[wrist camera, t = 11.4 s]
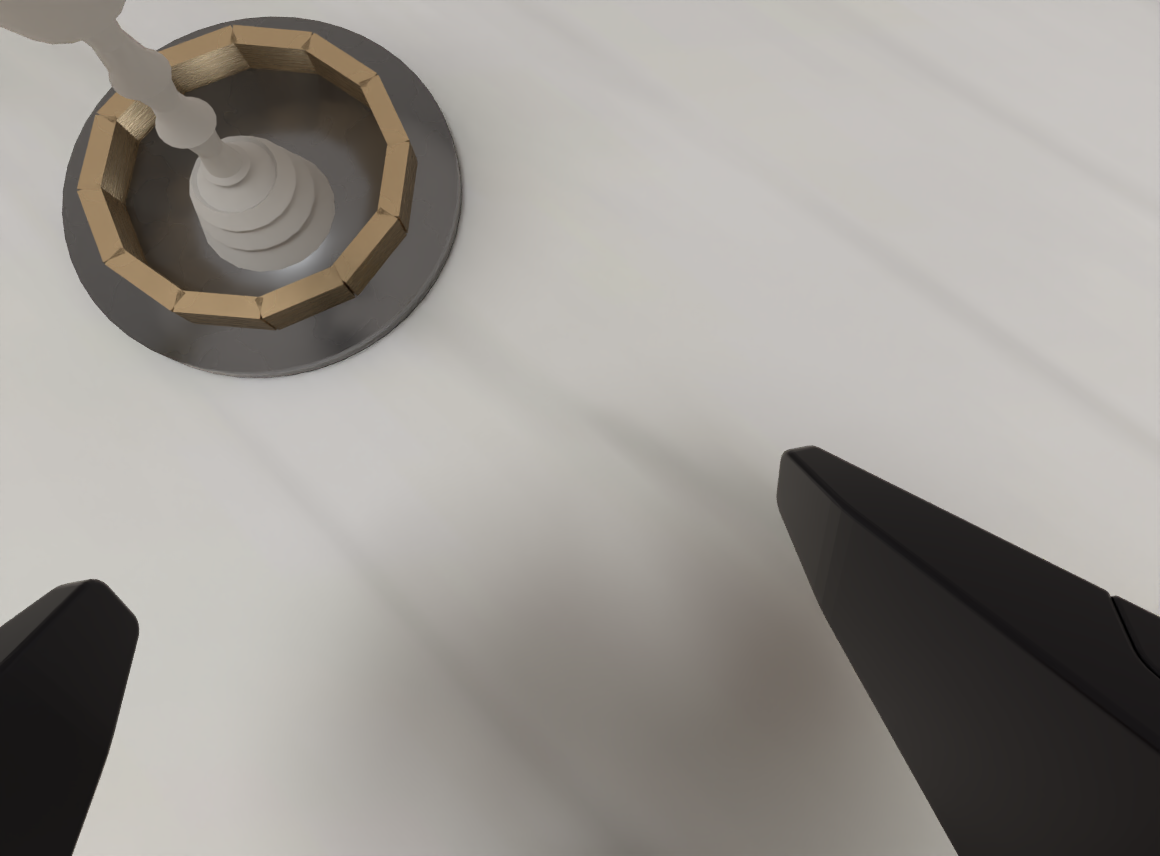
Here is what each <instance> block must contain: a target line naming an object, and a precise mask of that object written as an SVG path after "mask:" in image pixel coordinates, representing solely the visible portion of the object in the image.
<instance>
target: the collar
mask: <svg viewBox="0 0 1160 856" xmlns="http://www.w3.org/2000/svg"><path fill="white" fill-rule="evenodd" d="M157 52H159V53H161V54H162V55H163V56H164V57H165V58H166V59H167V60H168V61H169V64H170V66H171V73H172V81H173V83H174V85H175V87H176V89H177V91H178V92H179V93H181V94H183V95H184V96H186V97H195V98H199V99H201V100H203V101H205V102H207V103H208V104H209V105H210V106H211V107H212V108H213V110H214V112H215V115H216V127H215V130H216V132H217V134H218V136H219V138H220V140H221V139H223V138H226V137H232V136H254V137H259V138H264V139H267V140H269V141H271V142H272V143H274V144H276V145H278V146H281V147H283V148H284V149H286V150H288V151H290V152H292V153H294V154H297V155H299V156H301V157H303V158H304V159H306V160H308V161H310V162H312V163H314V164H315V165H316V167H317V168H318V169H319V170H320V171H321V172H322V173H323V174H324V175H325V176H326V177H327V180H328V182H329V184H330V187H331V189H332V191H333V194H334V205H335V215H334V218H333V222H332V225H331V228H330V232H329V233H328V235H327V236H326V238H325V239H324V240H323V242H322V243H321V245H320V246H319V248H318V249H317V250H316V251H314V252H313V253H312V254H310V255H309V256H308V257H307V258H305V259H304V260H303V261H301V262H299V263H297V264H294V265H292V266H289V267H287V268H284V269H281V270H273V271H262V272H258V271H253V270H248V269H243V268H238V267H237V266H235V265H233V264H231V263H229V262H228V261H226V260H224V259H222V258H221V257H220V256H219V255H218V254H217V253H216V252H215V250H214V249H213V248H212V247H211V246H210V245H209V244H208V242H207V239H206V237H205V234H204V231H203V229H202V226H201V223H200V221H199V218H198V215H197V213H196V210H195V208H194V205H193V203H192V200H191V197H190V177H191V173H192V170H193V168H194V165H195V162H196V160H197V158H198V157H199V156H198V154H196V153H194V152H193V151H191V150H190V149H188V148H184V149H181V148H176V147H172V146H170V145H168V144H166V143H165V142H164V141H163V140H162V139H161V138H160V137H159V136H158V133H157V131H156V125H155V120H156V115H155V114H154V112H153V110H152V108H151V107H149V106H147V105H146V104H144V103H142V102H141V101H138V100H133V99H128V98H125V97H123V96H121V95H119V94H118V93H117V92H116V91H115V90H114V89H113V88H111V89H110V90H109V91H108V92H107V94H106V95H105V96H104V97H103V98H102V99H101V101H100V102H99V103H98V105H97V106H96V108H95V109H94V111H93V112H92V114H91V115H90V117H89V118H88V120H87V121H86V123H85V125H84V127H83V129H82V131H81V133H80V135H79V137H78V139H77V141H76V143H75V145H74V149H73V152H72V155H71V158H70V161H69V164H68V167H67V172H66V177H65V183H64V188H63V208H62V216H63V225H64V233H65V240H66V243H67V247H68V250H69V254H70V258H71V261H72V263H73V265H74V268H75V270H76V272H77V274H78V277H79V279H80V281H81V283H82V284H83V286H84V288H85V289H86V291H87V292H88V294H89V295H90V297H91V298H92V300H93V301H94V303H95V304H96V305H97V306H98V307H99V308H100V310H101V311H102V312H103V313H104V314H105V315H106V316H107V317H108V319H109V320H110V321H111V322H113V323H114V324H115V325H116V326H117V327H119V328H120V329H121V330H122V331H123V332H125V333H126V334H127V335H128V336H129V337H131V338H133V339H134V340H136V341H137V342H139V343H141V344H142V345H144V346H146V347H147V348H149V349H151V350H152V351H155V352H157V353H159V354H162V355H164V356H166V357H169V358H171V359H173V360H175V361H178V362H180V363H182V364H185V365H187V366H190V367H193V368H197V369H200V370H204V371H207V372H211V373H215V374H221V375H228V376H235V377H257V378H267V377H277V376H286V375H294V374H298V373H302V372H307V371H311V370H315V369H319V368H322V367H324V366H327V365H330V364H333V363H335V362H338V361H341V360H343V359H345V358H347V357H349V356H351V355H353V354H355V353H357V352H359V351H361V350H363V349H365V348H367V347H368V346H370V345H371V344H373V343H374V342H376V341H377V340H379V339H380V338H382V337H383V336H385V335H386V334H388V333H389V332H390V331H391V330H392V329H393V328H395V327H396V326H397V325H398V324H399V323H400V322H401V321H403V320H404V319H405V318H406V317H407V316H408V315H409V314H410V313H411V312H412V311H413V309H414V308H415V307H416V306H417V305H418V304H419V303H420V302H421V300H422V299H423V298H424V297H425V295H426V294H427V292H428V291H429V290H430V288H431V287H432V285H433V284H434V282H435V281H436V279H437V278H438V276H439V274H440V272H441V270H442V268H443V266H444V264H445V262H446V260H447V258H448V256H449V253H450V250H451V247H452V244H453V241H454V238H455V236H456V231H457V226H458V221H459V216H460V208H461V180H460V169H459V164H458V160H457V156H456V152H455V148H454V144H453V140H452V137H451V134H450V131H449V129H448V126H447V124H446V121H445V119H444V116H443V114H442V112H441V110H440V108H439V107H438V105H437V103H436V101H435V100H434V98H433V96H432V94H431V93H430V92H429V90H428V89H427V88H426V87H425V85H424V84H423V83H422V82H421V80H420V79H419V78H418V76H417V75H416V74H415V73H414V72H412V71H411V70H410V69H409V68H408V67H407V66H406V65H405V64H404V63H403V62H402V61H401V60H400V59H398V58H397V57H396V56H394V55H393V54H392V53H390V52H389V51H387V50H386V49H385V48H383V47H382V46H380V45H378V44H376V43H375V42H373V41H371V40H369V39H367V38H366V37H364V36H362V35H359V34H357V33H354V32H352V31H349V30H347V29H344V28H342V27H339V26H335V25H331V24H328V23H324V22H320V21H315V20H308V19H301V18H295V17H259V18H246V19H241V20H235V21H230V22H225V23H220V24H217V25H214V26H210V27H207V28H204V29H201V30H197V31H195V32H193V33H190V34H188V35H186V36H183V37H181V38H179V39H176V40H174V41H172V42H171V43H169V44H167V45H165V46H164V47H162V48H160V49H158V50H157Z"/></svg>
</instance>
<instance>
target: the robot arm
mask: <svg viewBox="0 0 1160 856" xmlns="http://www.w3.org/2000/svg"><path fill="white" fill-rule="evenodd" d="M777 504H778V508H779V512H780V514H781V516H782V519H783V521H784V524H785V526H786V528H787V531H788V533H789V536H790V538H791V540H792V543H793V545H794V547H795V550H796V552H797V555H798V557H799V559H800V562H801V564H802V566H803V569H804V571H805V574H806V576H807V578H808V581H809V583H810V585H811V588H812V590H813V593H814V595H815V597H816V599H817V601H818V604H819V606H820V608H821V610H822V612H823V614H824V616H825V618H826V620H827V621H828V623H829V625H830V627H831V629H832V631H833V632H834V634H835V636H836V638H837V640H838V641H839V643H840V645H841V647H842V648H843V650H844V652H845V654H846V656H847V657H848V659H849V661H850V663H851V665H852V666H853V668H854V670H855V672H856V673H857V675H858V677H859V679H860V681H861V682H862V684H863V686H864V688H865V690H866V691H867V693H868V695H869V697H870V698H871V700H872V702H873V704H874V706H875V707H876V709H877V711H878V713H879V715H880V716H881V718H882V720H883V722H884V724H885V725H886V727H887V729H888V731H889V732H890V734H891V736H892V738H893V740H894V741H895V743H896V745H897V747H898V749H899V750H900V752H901V754H902V756H903V757H904V759H905V761H906V763H907V765H908V766H909V768H910V770H911V772H912V774H913V775H914V777H915V779H916V781H917V783H918V784H919V786H920V788H921V790H922V791H923V793H924V795H925V797H926V799H927V800H928V802H929V804H930V806H931V808H932V809H933V811H934V813H935V815H936V816H937V818H938V820H939V822H940V824H941V825H942V827H943V829H944V831H945V833H946V834H947V836H948V838H949V840H950V841H951V843H952V845H953V847H954V849H955V850H956V852H957V854H958V856H1160V617H1159V616H1157V615H1155V614H1153V613H1151V612H1149V611H1147V610H1145V609H1143V608H1141V607H1139V606H1137V605H1135V604H1133V603H1131V602H1129V601H1127V600H1125V599H1123V598H1121V597H1119V596H1110V594H1109V593H1108V592H1107V591H1106V590H1104V589H1102V588H1100V587H1098V586H1096V585H1094V584H1092V583H1090V582H1088V581H1086V580H1084V579H1082V578H1080V577H1078V576H1076V575H1074V574H1072V573H1070V572H1068V571H1066V570H1064V569H1062V568H1060V567H1058V566H1056V565H1054V564H1052V563H1050V562H1048V561H1046V560H1044V559H1042V558H1040V557H1038V556H1036V555H1034V554H1032V553H1030V552H1028V551H1026V550H1024V549H1022V548H1020V547H1018V546H1016V545H1014V544H1012V543H1010V542H1008V541H1006V540H1004V539H1002V538H1000V537H998V536H996V535H994V534H992V533H990V532H988V531H986V530H984V529H982V528H980V527H978V526H976V525H974V524H972V523H970V522H968V521H966V520H964V519H962V518H960V517H958V516H956V515H954V514H952V513H950V512H948V511H946V510H944V509H941V508H939V507H937V506H935V505H933V504H931V503H929V502H927V501H925V500H923V499H921V498H919V497H917V496H915V495H913V494H911V493H909V492H907V491H905V490H903V489H901V488H899V487H897V486H895V485H893V484H891V483H889V482H887V481H885V480H883V479H881V478H879V477H877V476H875V475H873V474H871V473H869V472H867V471H865V470H863V469H861V468H859V467H857V466H855V465H853V464H851V463H849V462H847V461H845V460H843V459H841V458H839V457H837V456H835V455H833V454H831V453H829V452H827V451H825V450H823V449H821V448H819V447H816V446H805V447H799V448H794V449H789V450H786V451H785V452H784V453H783V455H782V457H781V461H780V470H779V478H778V487H777ZM138 636H139V624H138V621H137V618H136V616H135V615H134V614H133V613H132V612H131V611H130V609H129V608H128V607H127V606H126V605H125V604H124V603H123V602H122V601H121V600H120V598H119V597H118V596H117V595H116V594H115V593H114V592H113V591H112V590H111V589H110V587H109V586H108V585H107V584H105V583H104V582H102V581H100V580H97V579H89V580H83V581H78V582H73V583H67V584H64V585H60V586H58V587H56V588H54V589H53V590H51V591H50V592H48V593H47V594H46V595H44V596H43V597H41V598H40V599H39V600H37V601H36V602H34V603H33V604H32V605H30V606H29V607H27V608H26V609H25V610H23V611H22V612H20V613H19V614H18V615H16V616H15V617H14V618H12V619H11V620H9V621H8V622H7V623H5V624H4V625H2V626H1V627H0V856H72V854H73V852H74V849H75V846H76V843H77V841H78V838H79V835H80V832H81V830H82V827H83V824H84V821H85V818H86V816H87V813H88V810H89V807H90V805H91V802H92V799H93V796H94V794H95V791H96V788H97V785H98V782H99V780H100V777H101V774H102V771H103V768H104V765H105V762H106V759H107V756H108V753H109V750H110V746H111V743H112V739H113V736H114V732H115V728H116V724H117V720H118V716H119V712H120V708H121V704H122V700H123V696H124V692H125V688H126V684H127V680H128V676H129V672H130V668H131V664H132V660H133V657H134V653H135V649H136V645H137V641H138Z"/></svg>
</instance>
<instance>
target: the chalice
mask: <svg viewBox="0 0 1160 856" xmlns="http://www.w3.org/2000/svg"><path fill="white" fill-rule="evenodd" d="M125 1H126V0H0V27H2V28H5V29H7V30H10V31H12V32H15V33H17V34H19V35H22V36H24V37H27V38H29V39H32V40H35V41H39V42H44V43H49V44H67V43H75V42H78V41H81V40H83V41H84V42H85V43H87V44H88V45H89V46H91V47H92V48H93V50H94V51H95V53H96V54H97V56H98V57H99V58H100V60H101V61H102V63H103V64H104V66H105V67H106V68H107V70H108V72H109V81H110V83H111V85H112V88H113V89H114V90H115V91H116V92H117V93H118V94H119V95H121V96H123V97H125V98H128V99H133V100H138V101H141V102H142V103H144V104H146V105H147V106H149V107H151V108H152V110H153V112H154V114H155V115H156V120H155V125H156V131H157V133H158V136H159V137H160V138H161V139H162V140H163V141H164V142H165V143H166V144H168V145H170V146H172V147H176V148H181V149H184V148H188V149H190V150H191V151H193V152H194V153H196V154H198V156H199V157H198V158H197V160H196V162H195V165H194V168H193V170H192V173H191V177H190V197H191V200H192V203H193V205H194V208H195V210H196V213H197V215H198V218H199V221H200V223H201V226H202V229H203V231H204V234H205V237H206V239H207V242H208V244H209V245H210V246H211V247H212V248H213V249H214V250H215V252H216V253H217V254H218V255H219V256H220V257H221V258H222V259H224V260H226V261H228V262H229V263H231V264H233V265H235V266H237V267H238V268H243V269H248V270H253V271H258V272H262V271H273V270H281V269H284V268H287V267H289V266H292V265H294V264H297V263H299V262H301V261H303V260H304V259H305V258H307V257H308V256H309V255H310V254H312V253H313V252H314V251H316V250H317V249H318V248H319V246H320V245H321V243H322V242H323V240H324V239H325V238H326V236H327V235H328V233H329V232H330V228H331V225H332V222H333V218H334V215H335V205H334V194H333V191H332V189H331V187H330V184H329V182H328V180H327V177H326V176H325V175H324V174H323V173H322V172H321V171H320V170H319V169H318V168H317V167H316V165H315V164H314V163H312V162H310V161H308V160H306V159H304V158H303V157H301V156H299V155H297V154H294V153H292V152H290V151H288V150H286V149H284V148H283V147H281V146H278V145H276V144H274V143H272V142H271V141H269V140H267V139H264V138H259V137H254V136H232V137H226V138H223V139H221V140H220V138H219V136H218V134H217V132H216V130H215V127H216V115H215V112H214V110H213V108H212V107H211V106H210V105H209V104H208V103H207V102H205V101H203V100H201V99H199V98H195V97H186V96H184V95H183V94H181V93H179V92H178V91H177V89H176V87H175V85H174V83H173V81H172V73H171V66H170V64H169V61H168V60H167V59H166V58H165V57H164V56H163V55H162V54H161V53H159V52H157V51H155V50H152V49H148V48H145V47H144V46H142V45H141V44H140V43H139V42H137V41H136V40H135V39H134V38H132V37H131V36H130V35H129V34H127V33H126V32H125V31H124V30H122V29H121V27H120V25H119V24H118V22H117V21H116V18H117V17H118V15H119V14H120V13H121V11H122V9H123V6H124V3H125Z"/></svg>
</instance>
